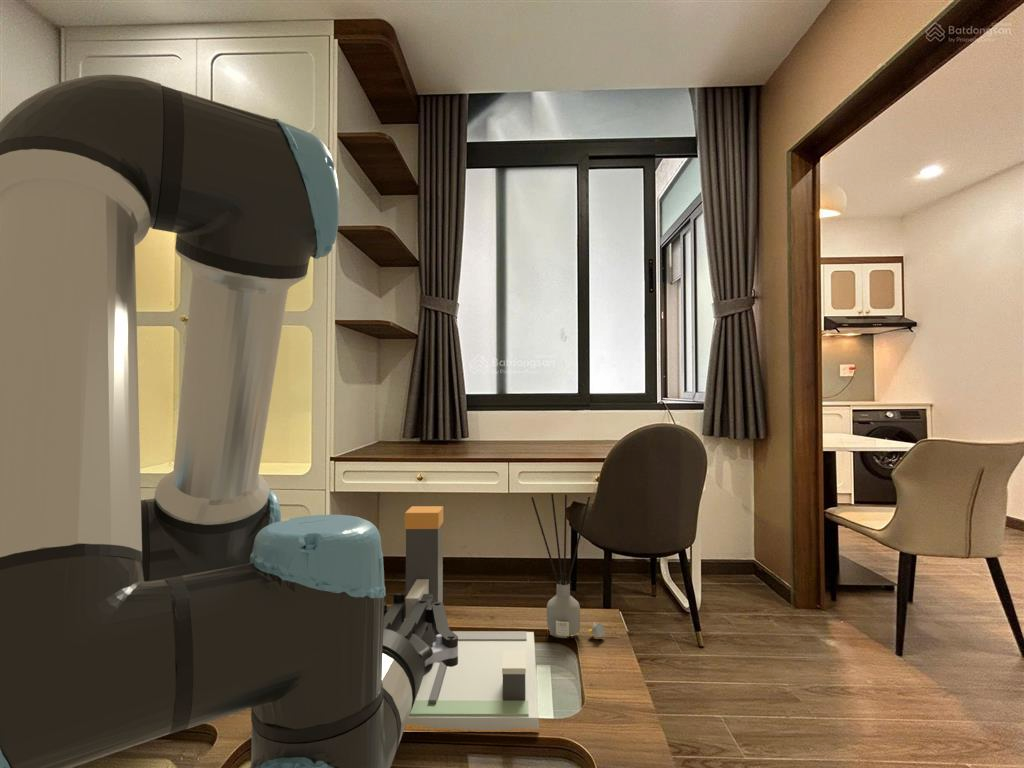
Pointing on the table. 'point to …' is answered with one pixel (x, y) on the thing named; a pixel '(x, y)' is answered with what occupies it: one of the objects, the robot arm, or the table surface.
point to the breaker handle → (425, 553)
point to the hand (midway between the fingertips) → (422, 590)
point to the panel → (482, 685)
